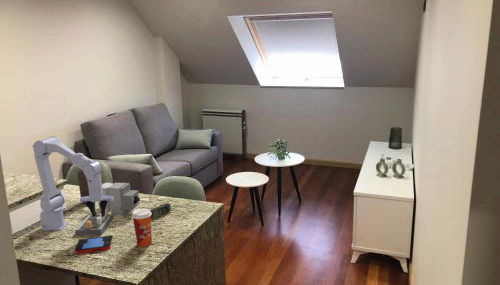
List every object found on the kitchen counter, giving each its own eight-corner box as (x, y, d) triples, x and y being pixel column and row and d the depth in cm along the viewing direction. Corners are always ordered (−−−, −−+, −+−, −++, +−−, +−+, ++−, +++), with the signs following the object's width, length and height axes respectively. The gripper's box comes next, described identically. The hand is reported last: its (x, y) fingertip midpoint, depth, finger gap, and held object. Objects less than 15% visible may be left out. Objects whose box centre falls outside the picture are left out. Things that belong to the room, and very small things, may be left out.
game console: (113, 237, 184) (112, 232, 183) (110, 251, 172) (109, 246, 171) (79, 241, 181) (78, 236, 180) (74, 255, 169) (73, 250, 168)
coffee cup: (144, 250, 171) (141, 217, 167) (130, 245, 175) (127, 213, 171) (158, 241, 178) (155, 210, 174) (145, 237, 182) (142, 206, 178)
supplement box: (119, 206, 217) (116, 184, 214) (107, 211, 211) (105, 188, 208) (110, 203, 221) (107, 181, 218) (98, 208, 215) (95, 186, 212)
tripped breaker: (86, 228, 186) (86, 222, 185) (88, 226, 188) (87, 220, 187) (90, 228, 186) (89, 222, 185) (92, 226, 188) (91, 220, 187)
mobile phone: (149, 212, 197) (172, 201, 208) (145, 211, 199) (169, 200, 210) (150, 221, 199) (173, 210, 210) (146, 220, 200) (169, 209, 212)
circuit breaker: (136, 217, 203) (133, 189, 200) (110, 215, 206) (107, 187, 203) (143, 211, 211) (140, 183, 207) (118, 209, 213) (115, 182, 210)
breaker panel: (75, 235, 186) (73, 224, 184) (89, 219, 202) (88, 209, 201) (101, 234, 186) (100, 223, 184) (113, 218, 202) (112, 208, 201)
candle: (92, 204, 220) (87, 169, 215) (78, 205, 220) (74, 170, 215) (97, 199, 227) (93, 165, 222) (84, 199, 228) (80, 165, 223)
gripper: (75, 191, 178) (79, 220, 182) (108, 190, 178) (112, 219, 182) (81, 186, 185) (85, 213, 188) (113, 185, 185) (116, 212, 188)
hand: (98, 216), depth 185 cm, fingers open, 3 cm apart
